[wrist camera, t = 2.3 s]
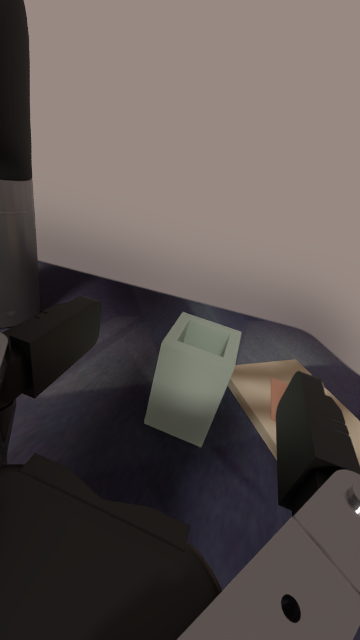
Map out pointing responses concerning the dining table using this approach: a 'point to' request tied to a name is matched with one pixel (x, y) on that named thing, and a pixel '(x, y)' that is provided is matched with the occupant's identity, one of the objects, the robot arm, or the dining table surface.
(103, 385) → the dining table surface
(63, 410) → the dining table surface
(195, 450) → the dining table surface
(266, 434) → the post board
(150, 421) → the sleeve
